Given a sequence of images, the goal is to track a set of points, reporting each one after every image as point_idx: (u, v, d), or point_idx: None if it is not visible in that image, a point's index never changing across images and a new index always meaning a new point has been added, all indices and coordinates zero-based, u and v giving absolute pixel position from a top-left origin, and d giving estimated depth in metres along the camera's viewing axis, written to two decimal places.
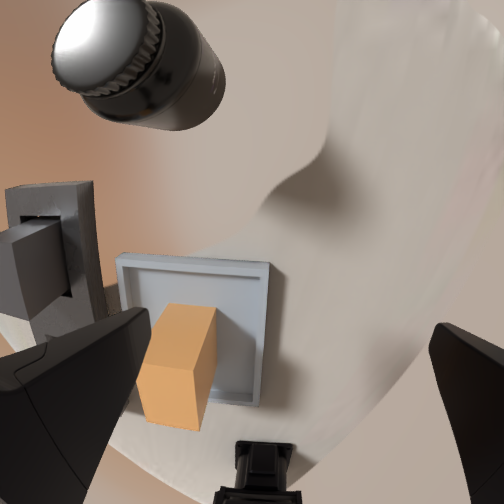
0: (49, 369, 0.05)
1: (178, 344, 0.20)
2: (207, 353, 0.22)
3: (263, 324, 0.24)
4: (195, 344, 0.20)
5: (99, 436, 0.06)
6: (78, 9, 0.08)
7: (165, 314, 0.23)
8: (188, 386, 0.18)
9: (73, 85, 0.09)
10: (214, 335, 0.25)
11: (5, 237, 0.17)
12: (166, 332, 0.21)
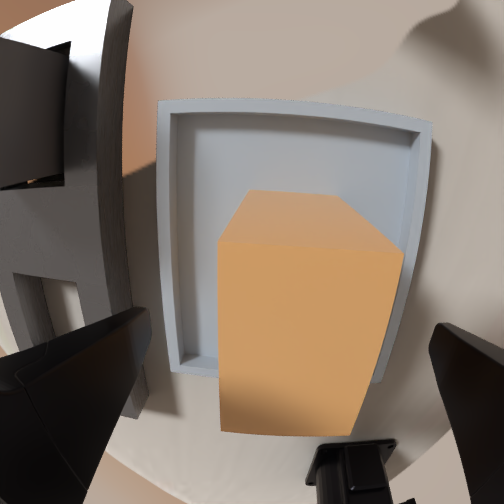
0: (49, 369, 0.05)
1: (320, 221, 0.09)
2: None
3: (420, 220, 0.13)
4: (354, 221, 0.09)
5: (99, 436, 0.06)
6: None
7: (253, 196, 0.12)
8: (377, 308, 0.07)
9: None
10: None
11: None
12: (275, 209, 0.10)
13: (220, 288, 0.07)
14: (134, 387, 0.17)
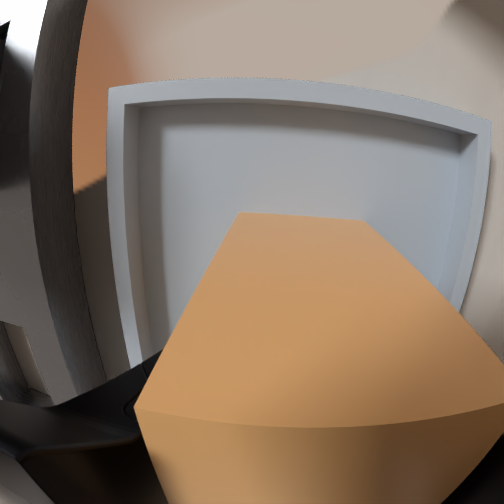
0: None
1: (362, 297, 0.04)
2: None
3: (472, 256, 0.09)
4: (416, 291, 0.05)
5: None
6: None
7: (243, 227, 0.08)
8: (454, 474, 0.03)
9: None
10: None
11: None
12: (277, 263, 0.06)
13: (160, 469, 0.03)
14: None
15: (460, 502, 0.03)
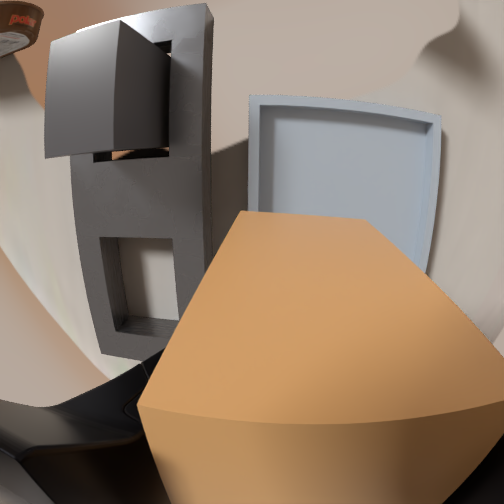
0: None
1: (364, 294, 0.04)
2: None
3: (436, 185, 0.17)
4: (418, 288, 0.05)
5: None
6: None
7: (244, 226, 0.08)
8: (458, 471, 0.02)
9: None
10: None
11: None
12: (279, 261, 0.06)
13: (163, 467, 0.03)
14: None
15: (460, 502, 0.03)
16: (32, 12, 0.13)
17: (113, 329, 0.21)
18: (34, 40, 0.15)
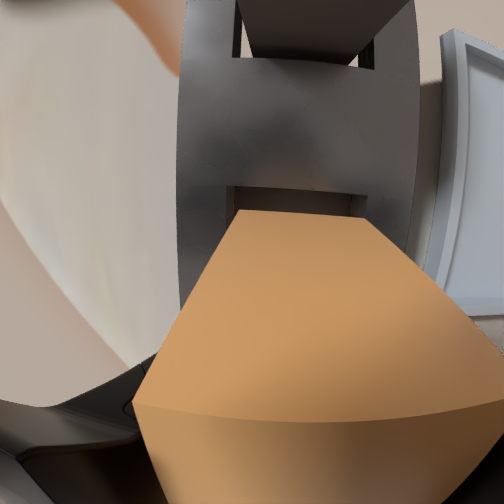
0: None
1: (362, 292, 0.04)
2: None
3: None
4: (417, 287, 0.05)
5: None
6: None
7: (243, 224, 0.08)
8: (457, 471, 0.02)
9: None
10: None
11: None
12: (278, 259, 0.06)
13: (159, 466, 0.03)
14: None
15: (460, 502, 0.03)
16: None
17: None
18: None
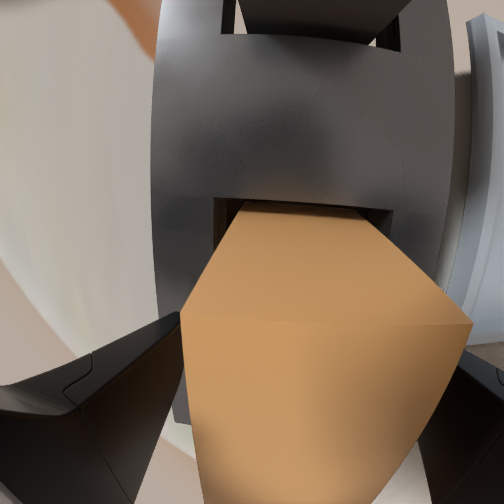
0: (102, 385, 0.05)
1: (343, 257, 0.06)
2: None
3: None
4: (388, 256, 0.06)
5: (145, 449, 0.06)
6: None
7: (249, 212, 0.09)
8: (424, 396, 0.04)
9: None
10: None
11: None
12: (278, 236, 0.07)
13: (190, 377, 0.04)
14: None
15: None
16: None
17: None
18: None
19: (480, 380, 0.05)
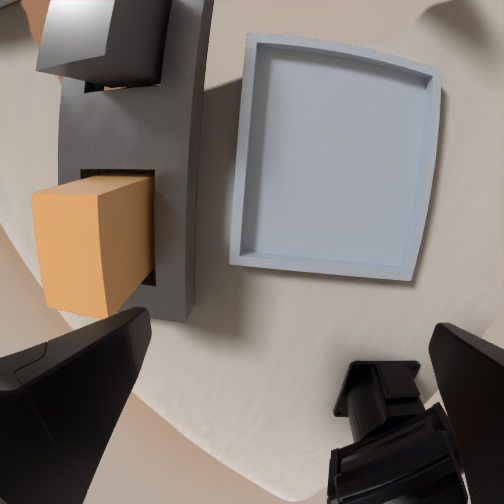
0: (49, 369, 0.05)
1: (96, 185, 0.14)
2: (136, 214, 0.16)
3: (436, 137, 0.16)
4: (117, 185, 0.14)
5: (99, 436, 0.06)
6: None
7: (98, 176, 0.17)
8: (91, 226, 0.12)
9: None
10: None
11: None
12: (89, 181, 0.15)
13: (34, 215, 0.12)
14: (188, 286, 0.20)
15: None
16: None
17: None
18: None
19: None
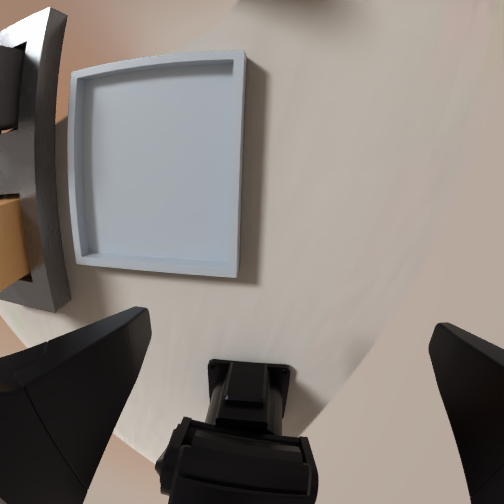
0: (49, 369, 0.05)
1: None
2: (7, 227, 0.18)
3: (238, 123, 0.17)
4: None
5: (99, 436, 0.06)
6: None
7: None
8: None
9: None
10: None
11: None
12: None
13: None
14: (54, 282, 0.21)
15: None
16: None
17: None
18: None
19: None
